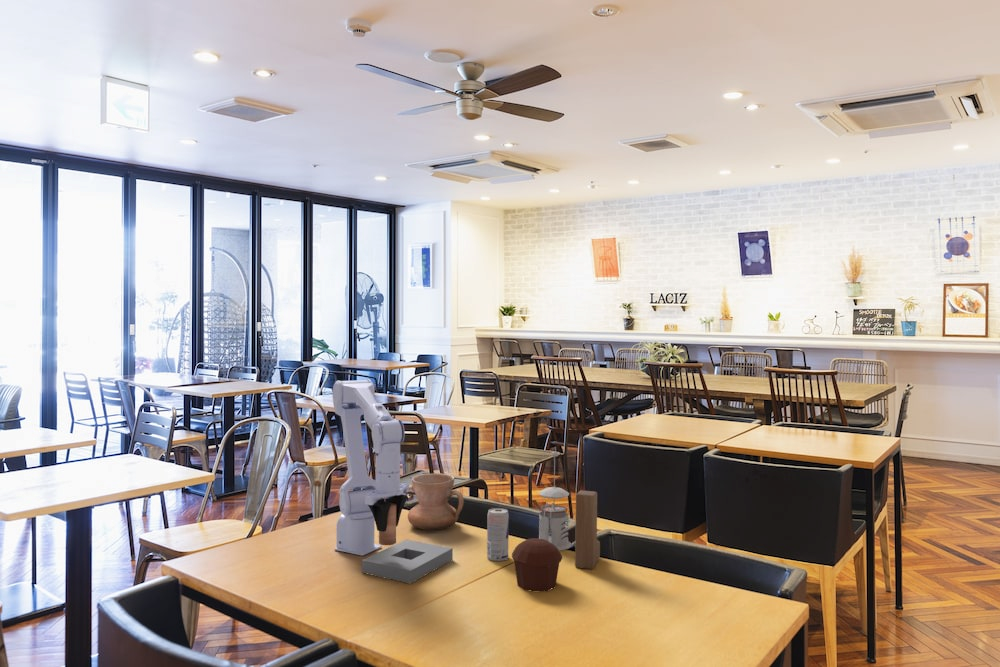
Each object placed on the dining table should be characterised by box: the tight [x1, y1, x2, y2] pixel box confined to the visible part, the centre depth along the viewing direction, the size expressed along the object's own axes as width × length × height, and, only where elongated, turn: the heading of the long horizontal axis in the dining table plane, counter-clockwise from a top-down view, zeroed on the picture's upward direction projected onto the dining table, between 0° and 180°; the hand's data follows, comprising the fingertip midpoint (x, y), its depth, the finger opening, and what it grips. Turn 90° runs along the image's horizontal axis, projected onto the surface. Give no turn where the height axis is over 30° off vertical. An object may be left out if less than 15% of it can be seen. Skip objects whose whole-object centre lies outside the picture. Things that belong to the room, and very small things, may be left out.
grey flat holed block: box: [361, 539, 454, 584], centre depth 173 cm, size 14×18×3 cm
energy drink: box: [486, 507, 510, 562], centre depth 179 cm, size 5×5×12 cm
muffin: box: [511, 537, 563, 592], centre depth 162 cm, size 12×11×10 cm
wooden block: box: [574, 489, 601, 570], centre depth 176 cm, size 9×4×18 cm, turn 161°
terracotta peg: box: [378, 503, 397, 546], centre depth 169 cm, size 4×4×9 cm
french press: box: [538, 451, 572, 551], centre depth 189 cm, size 10×12×25 cm
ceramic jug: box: [407, 473, 465, 531], centre depth 205 cm, size 18×14×14 cm
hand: (387, 528), depth 169 cm, fingers closed on terracotta peg, 4 cm apart
